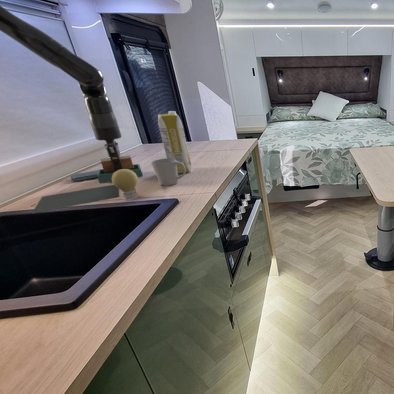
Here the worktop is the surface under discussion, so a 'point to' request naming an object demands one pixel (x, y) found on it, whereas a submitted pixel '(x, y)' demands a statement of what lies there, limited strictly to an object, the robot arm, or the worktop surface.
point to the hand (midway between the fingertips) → (119, 170)
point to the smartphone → (84, 176)
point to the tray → (108, 177)
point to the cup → (167, 171)
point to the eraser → (125, 162)
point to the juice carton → (174, 140)
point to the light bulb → (126, 183)
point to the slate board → (76, 198)
